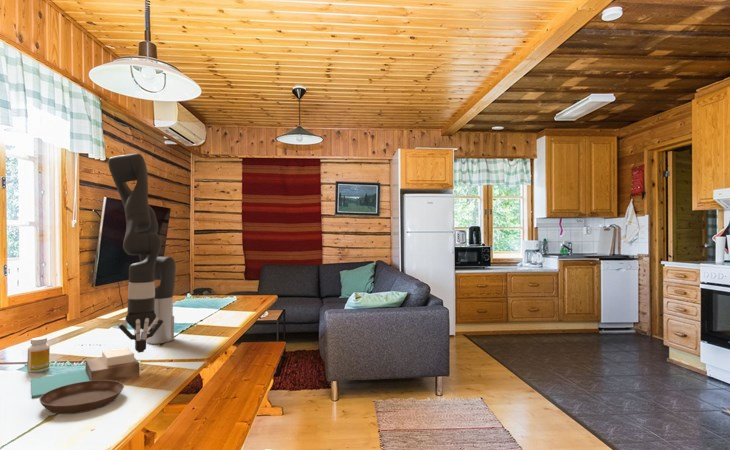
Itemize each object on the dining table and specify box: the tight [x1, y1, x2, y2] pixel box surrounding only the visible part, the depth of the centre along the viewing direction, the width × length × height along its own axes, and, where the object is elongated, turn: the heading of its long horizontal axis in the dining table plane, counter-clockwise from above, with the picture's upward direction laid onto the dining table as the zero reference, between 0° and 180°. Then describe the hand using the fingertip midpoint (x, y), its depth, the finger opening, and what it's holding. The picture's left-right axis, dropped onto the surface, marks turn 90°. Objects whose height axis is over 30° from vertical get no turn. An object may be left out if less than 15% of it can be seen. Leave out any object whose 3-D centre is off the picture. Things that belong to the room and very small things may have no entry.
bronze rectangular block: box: [84, 356, 140, 382], centre depth 126 cm, size 12×14×4 cm
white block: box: [101, 347, 135, 366], centre depth 127 cm, size 7×9×2 cm
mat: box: [30, 369, 90, 399], centre depth 118 cm, size 13×16×1 cm
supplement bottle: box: [26, 336, 51, 373], centre depth 130 cm, size 5×5×10 cm
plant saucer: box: [39, 380, 125, 415], centre depth 106 cm, size 18×18×3 cm
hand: (140, 351), depth 131 cm, fingers closed
